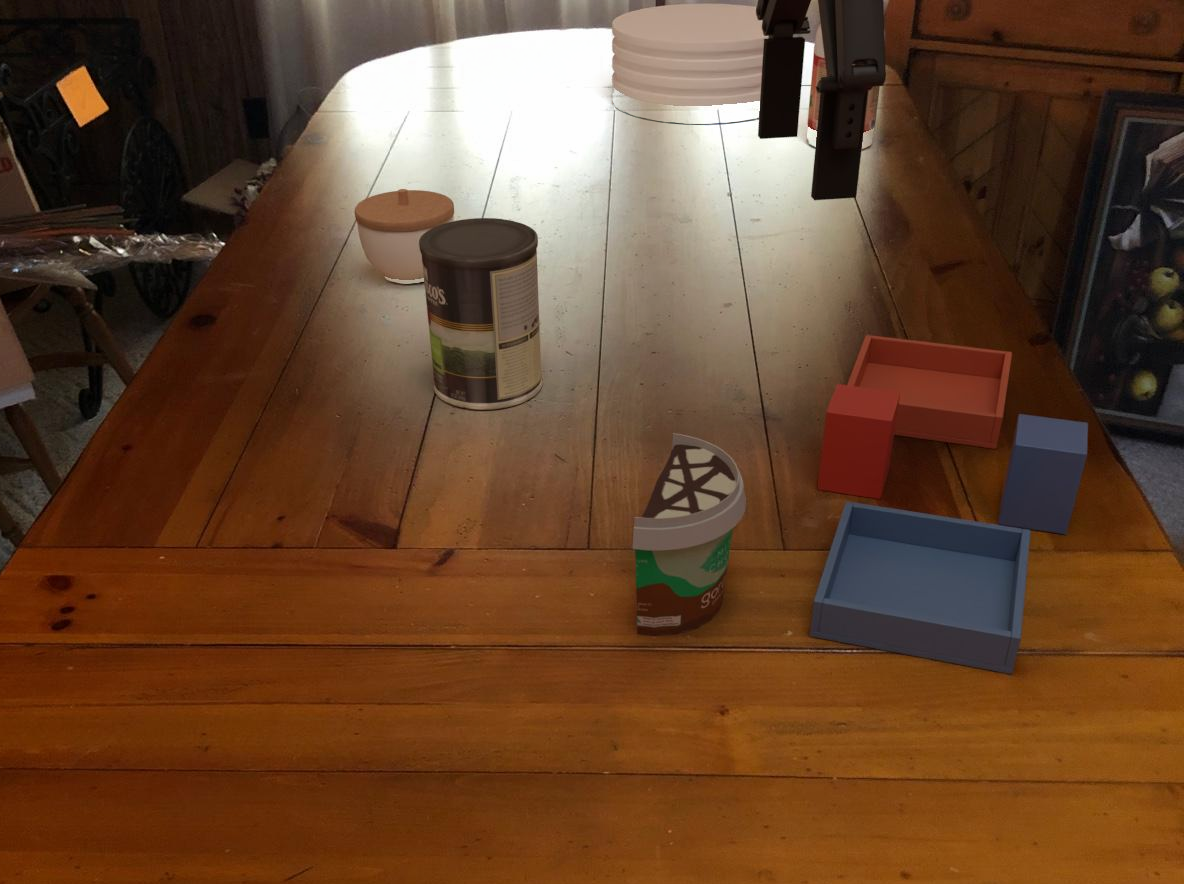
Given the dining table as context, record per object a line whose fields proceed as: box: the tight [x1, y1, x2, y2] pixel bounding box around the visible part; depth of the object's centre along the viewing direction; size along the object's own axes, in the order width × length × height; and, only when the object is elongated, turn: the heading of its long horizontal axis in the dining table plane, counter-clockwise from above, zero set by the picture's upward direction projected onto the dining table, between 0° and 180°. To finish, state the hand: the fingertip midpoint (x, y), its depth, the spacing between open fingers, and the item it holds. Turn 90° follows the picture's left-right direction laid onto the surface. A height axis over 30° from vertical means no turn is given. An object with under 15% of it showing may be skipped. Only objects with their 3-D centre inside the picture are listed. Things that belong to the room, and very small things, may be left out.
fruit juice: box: [807, 0, 890, 132], centre depth 165 cm, size 9×9×28 cm
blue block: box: [997, 413, 1089, 536], centre depth 92 cm, size 5×5×7 cm
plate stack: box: [611, 3, 795, 106], centre depth 190 cm, size 28×28×12 cm
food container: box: [632, 432, 747, 636], centre depth 83 cm, size 12×6×10 cm, turn 164°
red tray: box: [846, 334, 1013, 450], centre depth 108 cm, size 13×13×3 cm
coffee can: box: [419, 217, 544, 411], centre depth 110 cm, size 10×10×14 cm
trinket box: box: [354, 188, 455, 280], centre depth 134 cm, size 11×11×9 cm
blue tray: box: [809, 501, 1032, 675], centre depth 85 cm, size 13×13×3 cm
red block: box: [817, 383, 900, 500], centre depth 97 cm, size 5×5×7 cm
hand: (803, 165), depth 82 cm, fingers open, 13 cm apart
